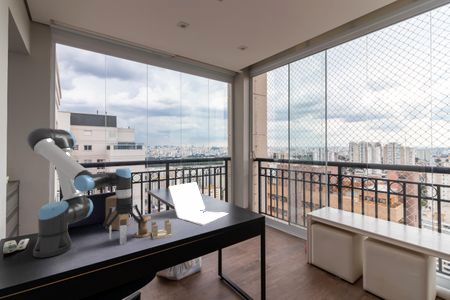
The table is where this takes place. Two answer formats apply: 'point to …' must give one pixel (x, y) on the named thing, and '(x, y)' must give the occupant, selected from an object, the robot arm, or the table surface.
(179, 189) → the laptop
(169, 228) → the tan base with posts
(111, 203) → the wooden block
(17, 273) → the table surface
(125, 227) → the tab
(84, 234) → the table surface
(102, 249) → the table surface
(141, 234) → the spool
